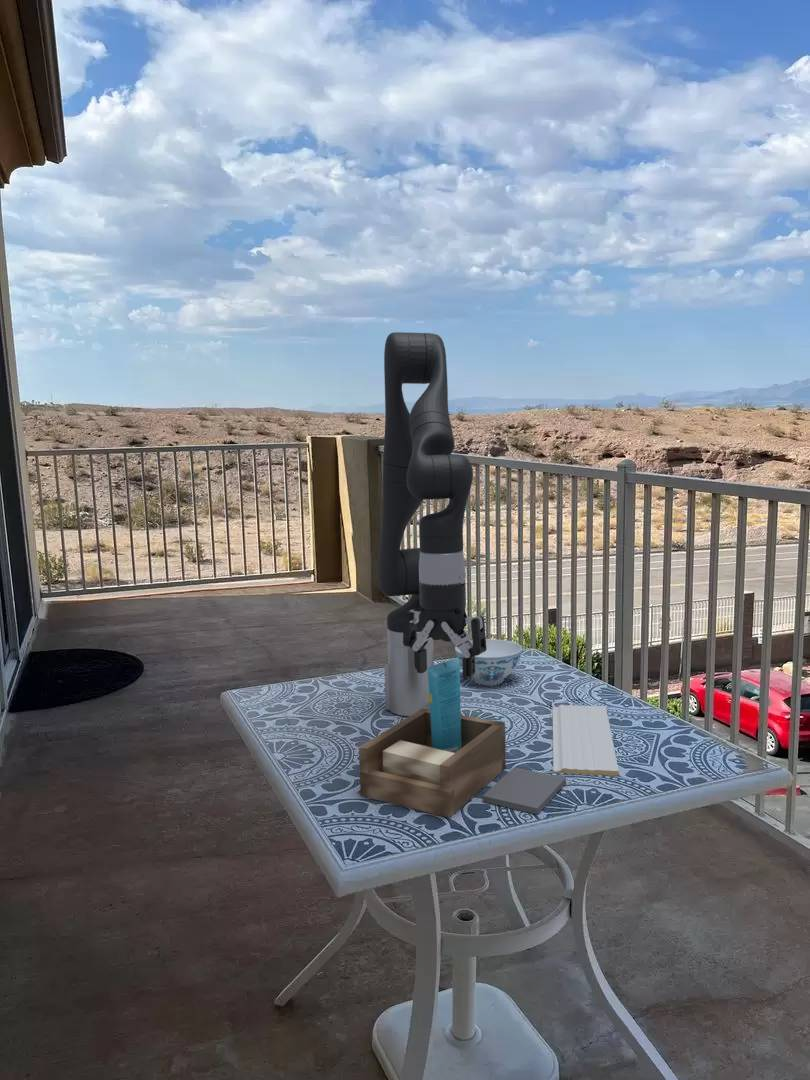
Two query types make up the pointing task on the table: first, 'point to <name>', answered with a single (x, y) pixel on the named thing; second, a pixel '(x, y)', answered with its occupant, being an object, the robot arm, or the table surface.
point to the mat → (524, 790)
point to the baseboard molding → (583, 740)
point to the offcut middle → (409, 775)
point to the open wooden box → (457, 773)
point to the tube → (445, 705)
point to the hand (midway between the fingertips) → (444, 675)
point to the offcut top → (415, 759)
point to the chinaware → (495, 661)
